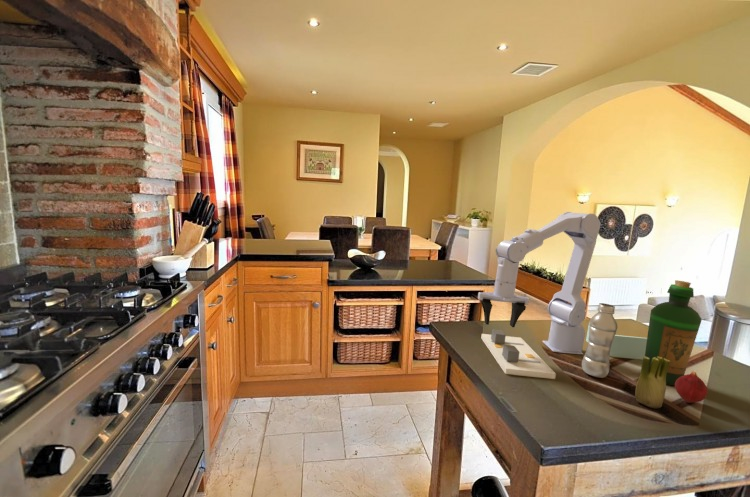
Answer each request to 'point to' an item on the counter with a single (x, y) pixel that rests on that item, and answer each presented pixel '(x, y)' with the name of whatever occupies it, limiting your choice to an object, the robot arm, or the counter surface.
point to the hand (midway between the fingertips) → (499, 324)
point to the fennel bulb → (652, 382)
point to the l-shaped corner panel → (626, 346)
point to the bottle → (673, 330)
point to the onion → (691, 388)
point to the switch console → (527, 359)
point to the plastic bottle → (600, 341)
